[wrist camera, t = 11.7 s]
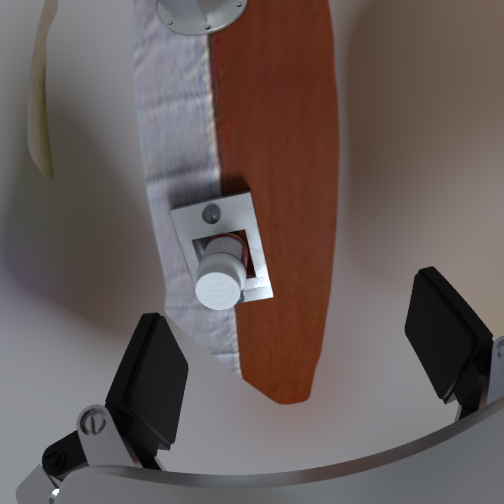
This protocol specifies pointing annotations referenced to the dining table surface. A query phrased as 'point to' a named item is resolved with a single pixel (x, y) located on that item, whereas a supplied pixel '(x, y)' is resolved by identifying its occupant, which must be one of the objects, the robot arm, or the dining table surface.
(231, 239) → the pill bottle
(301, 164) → the dining table surface
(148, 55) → the dining table surface
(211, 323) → the dining table surface
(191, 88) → the dining table surface
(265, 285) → the slotted white bracket
